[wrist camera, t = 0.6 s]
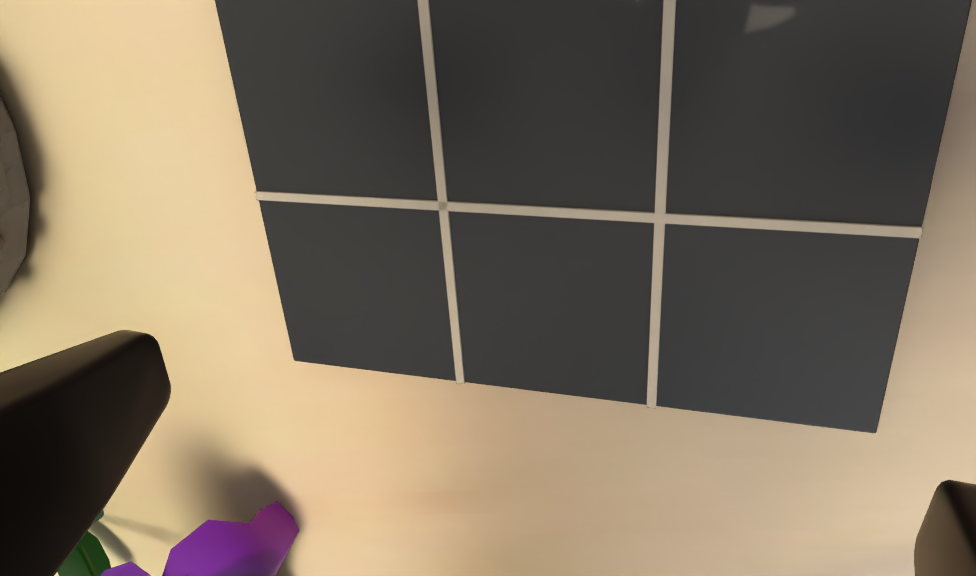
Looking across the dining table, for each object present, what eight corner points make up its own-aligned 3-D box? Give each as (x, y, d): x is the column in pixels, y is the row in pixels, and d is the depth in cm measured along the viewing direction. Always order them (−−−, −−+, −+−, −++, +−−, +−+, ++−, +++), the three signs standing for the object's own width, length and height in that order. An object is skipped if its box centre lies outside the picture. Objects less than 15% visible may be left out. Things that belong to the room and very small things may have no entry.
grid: (874, 424, 24) (877, 436, 23) (300, 354, 29) (292, 362, 29) (1062, -438, 14) (1074, -450, 14) (161, -293, 20) (146, -297, 19)
